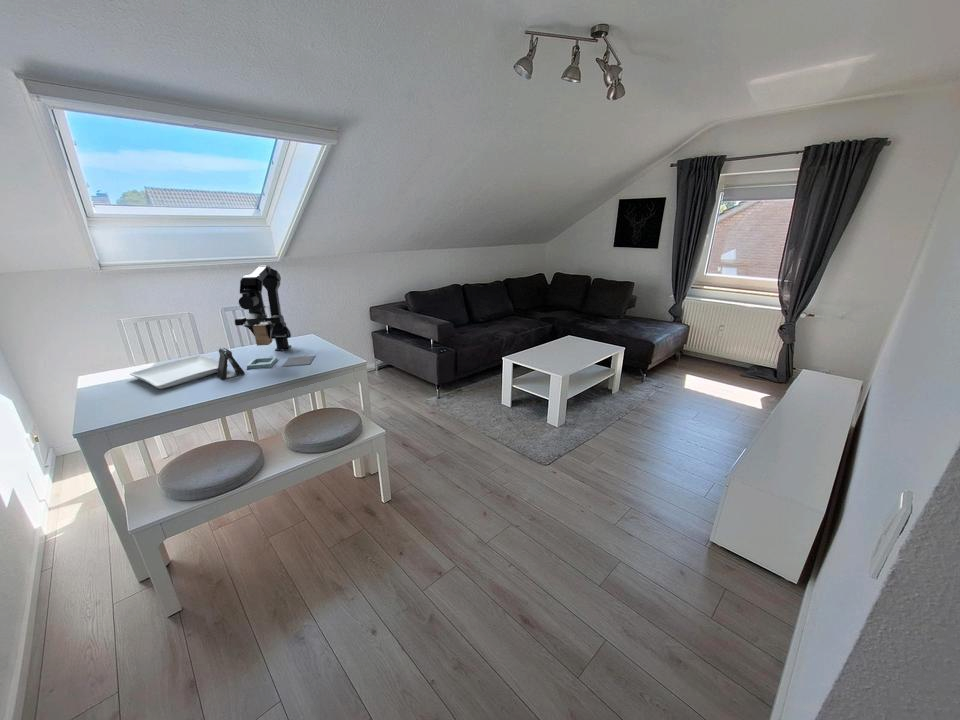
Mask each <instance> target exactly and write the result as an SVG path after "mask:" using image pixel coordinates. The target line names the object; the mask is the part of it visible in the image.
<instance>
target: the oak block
mask: <svg viewBox="0 0 960 720" xmlns="http://www.w3.org/2000/svg"><path fill="white" fill-rule="evenodd" d="M267 324H268V323H267V322H261V323H260V324H259V325H254V326H253V331H254V335H255V336H254V335H253V336H254V339H255V343H256V346H269V345H271V344H272V342H273V339H272V338H269V336H268V329H267V326H266V325H267Z"/></svg>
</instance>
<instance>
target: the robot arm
mask: <svg viewBox="0 0 960 720" xmlns="http://www.w3.org/2000/svg"><path fill="white" fill-rule="evenodd" d="M281 279H282V278H281V274H280V273H279V272H278V271H277V270H276V269H273V268H271V266H270V265H258V266H257V267H256V269H255V270H254V271H253V272H252V273H251V274H248V275H247V274H246V275H244V276H242V277H241V279H240V280H239V281H240V282H239V294H240V295H242V296H241V297H240V298H239V299H238V305H239V307H241V308H242V309H243V310H248V314H247V315H246V316H238V317H237V318H235V319H234V325H235V326H243V327H244V328H247V329H248V330H250V332H251V333H252V335H253V336H254V337H255V335H254V331H253V326H254V325H259V324H261V323H268V324H267V325H266V326H267V329H268V336H269V338H272V340H273V339H274V340H275V345H276V348H275V349H274V351H285V350H287V351H288V350H289V349H290V348H291V347H292V345H291V344H289V340H288V339H289V338H291V337H292V334H291V333H292V332H291V330H290V329H289V327H288V326H287V323H286V322H285V319H284V316H283V314H282V311H281V304H280V299H279V298H280V297H279V288H280V286H281ZM263 287H264V288H265V289H266V291H267V299H268V304H269V305H268V306H269V311H270V313H269V314H270V317H268V314H267V313H266V305H265V304H264V300H263V294H262V293H263V292H262V291H263Z"/></svg>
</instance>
